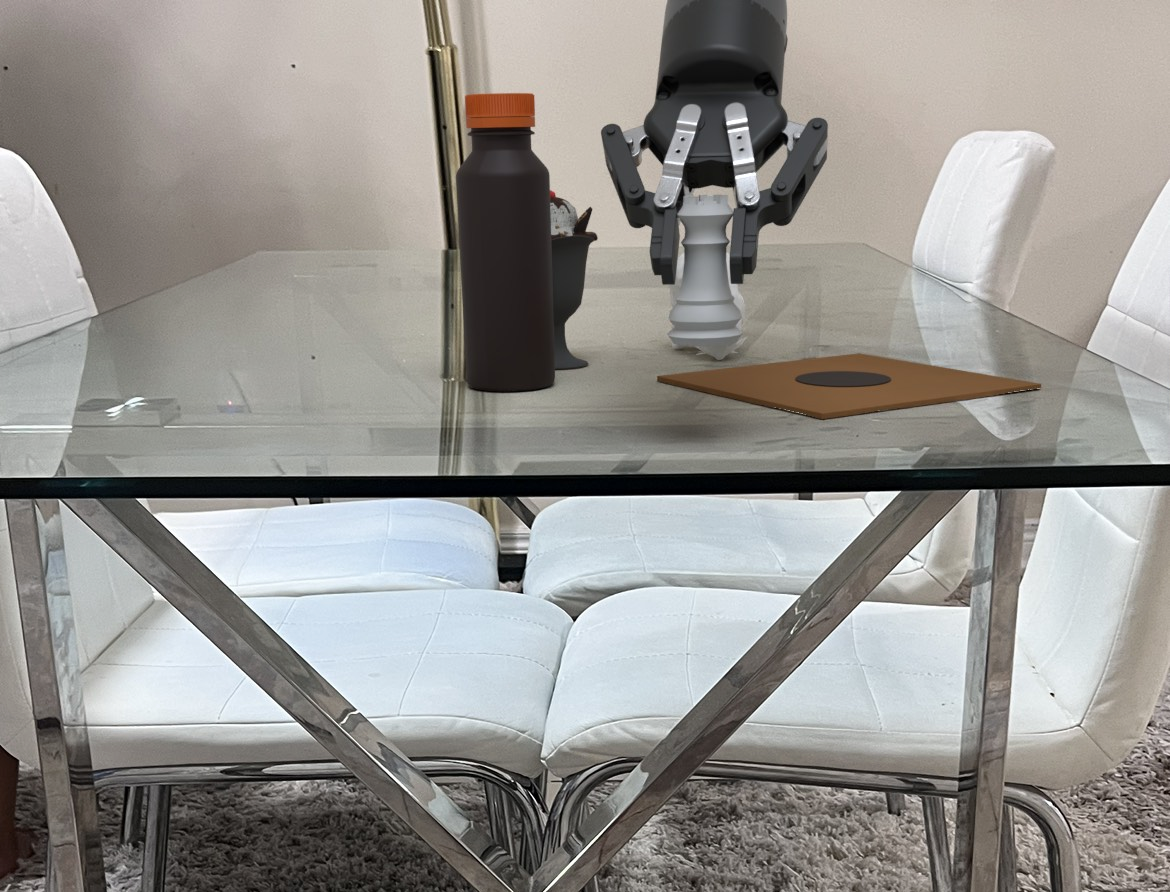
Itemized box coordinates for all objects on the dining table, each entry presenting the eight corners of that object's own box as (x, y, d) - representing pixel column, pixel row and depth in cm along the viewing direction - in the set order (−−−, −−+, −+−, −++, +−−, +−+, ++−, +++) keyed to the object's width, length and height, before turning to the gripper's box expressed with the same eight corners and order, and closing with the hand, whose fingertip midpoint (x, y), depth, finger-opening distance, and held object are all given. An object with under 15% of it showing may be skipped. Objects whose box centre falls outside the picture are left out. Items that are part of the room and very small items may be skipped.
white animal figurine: (738, 239, 122) (765, 263, 112) (733, 338, 127) (759, 371, 116) (666, 240, 122) (686, 265, 112) (664, 341, 126) (684, 373, 116)
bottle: (514, 375, 111) (503, 96, 103) (574, 384, 107) (567, 92, 99) (448, 386, 107) (431, 95, 99) (507, 395, 103) (495, 92, 94)
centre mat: (1041, 389, 101) (1041, 382, 100) (821, 419, 92) (822, 411, 91) (858, 358, 116) (859, 351, 116) (656, 381, 108) (656, 374, 107)
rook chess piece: (663, 347, 81) (662, 198, 78) (670, 337, 85) (669, 195, 82) (741, 346, 80) (743, 196, 77) (744, 336, 84) (746, 193, 81)
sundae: (504, 363, 117) (496, 168, 111) (576, 357, 120) (572, 166, 114) (538, 373, 112) (532, 169, 106) (612, 366, 115) (610, 167, 109)
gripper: (600, -4, 83) (569, 229, 77) (842, -16, 80) (829, 225, 75) (616, 97, 90) (588, 319, 84) (839, 90, 87) (826, 317, 82)
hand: (702, 273), depth 79 cm, fingers closed on rook chess piece, 3 cm apart
